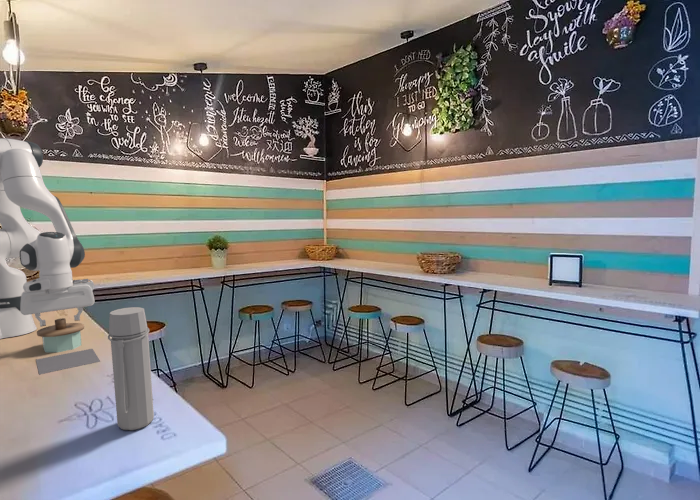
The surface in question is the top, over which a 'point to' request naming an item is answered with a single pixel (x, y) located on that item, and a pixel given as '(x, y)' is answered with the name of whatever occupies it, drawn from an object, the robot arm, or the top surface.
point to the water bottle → (131, 367)
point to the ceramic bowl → (62, 342)
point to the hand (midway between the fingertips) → (60, 323)
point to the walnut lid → (60, 329)
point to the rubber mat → (66, 361)
